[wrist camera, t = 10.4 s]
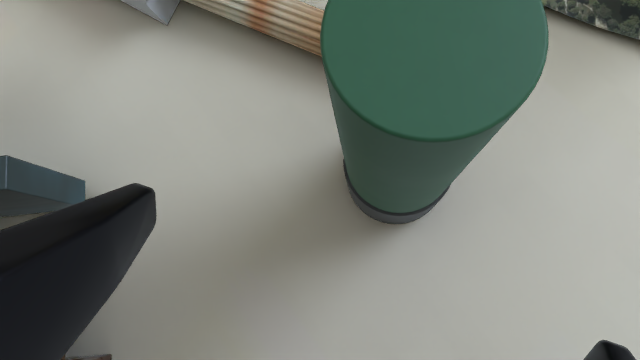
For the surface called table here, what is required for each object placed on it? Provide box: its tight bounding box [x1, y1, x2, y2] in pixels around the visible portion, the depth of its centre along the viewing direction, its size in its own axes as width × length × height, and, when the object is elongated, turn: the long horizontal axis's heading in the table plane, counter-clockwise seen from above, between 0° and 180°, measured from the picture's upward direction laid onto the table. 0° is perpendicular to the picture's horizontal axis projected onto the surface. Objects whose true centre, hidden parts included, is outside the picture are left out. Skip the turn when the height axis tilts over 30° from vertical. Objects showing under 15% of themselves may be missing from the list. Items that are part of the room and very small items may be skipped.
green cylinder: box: [320, 0, 548, 224], centre depth 15 cm, size 4×4×13 cm
